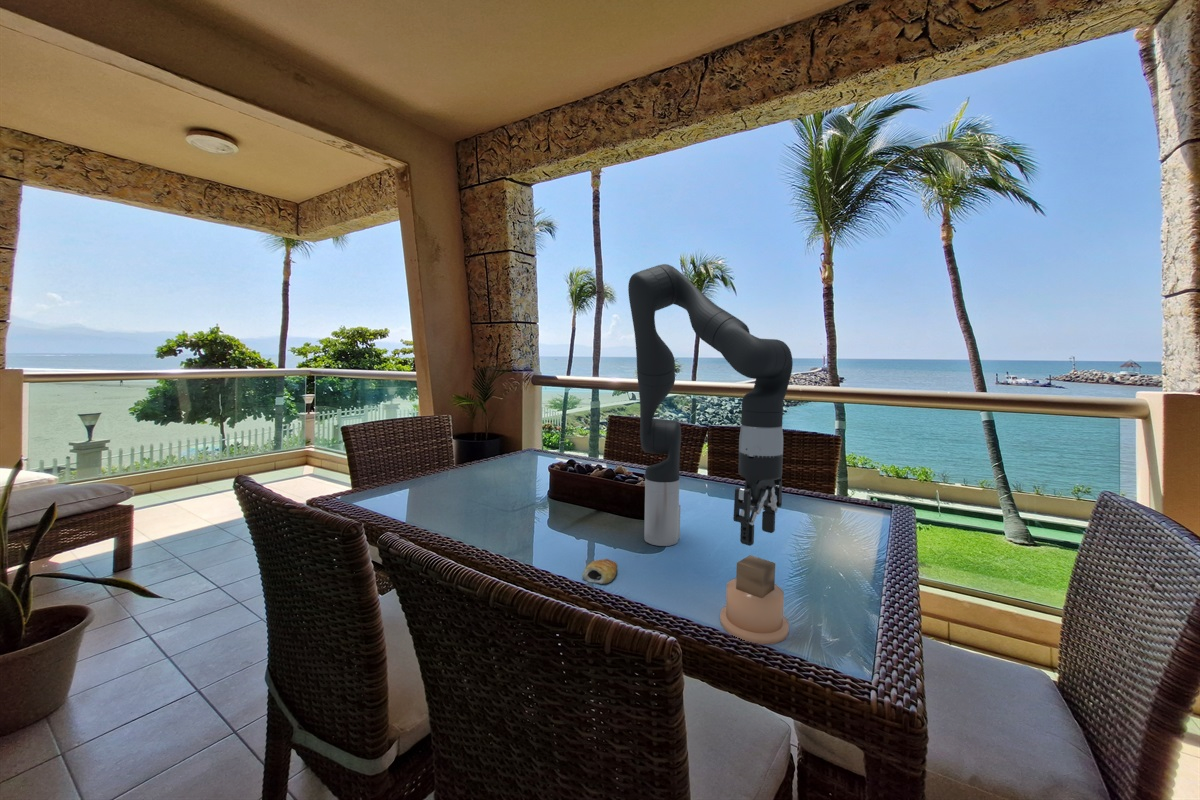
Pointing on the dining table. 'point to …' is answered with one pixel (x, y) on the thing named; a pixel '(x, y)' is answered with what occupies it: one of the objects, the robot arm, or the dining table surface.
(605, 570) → the pastry
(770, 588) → the walnut block
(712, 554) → the dining table surface
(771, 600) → the upside-down peach bowl
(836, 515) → the dining table surface
